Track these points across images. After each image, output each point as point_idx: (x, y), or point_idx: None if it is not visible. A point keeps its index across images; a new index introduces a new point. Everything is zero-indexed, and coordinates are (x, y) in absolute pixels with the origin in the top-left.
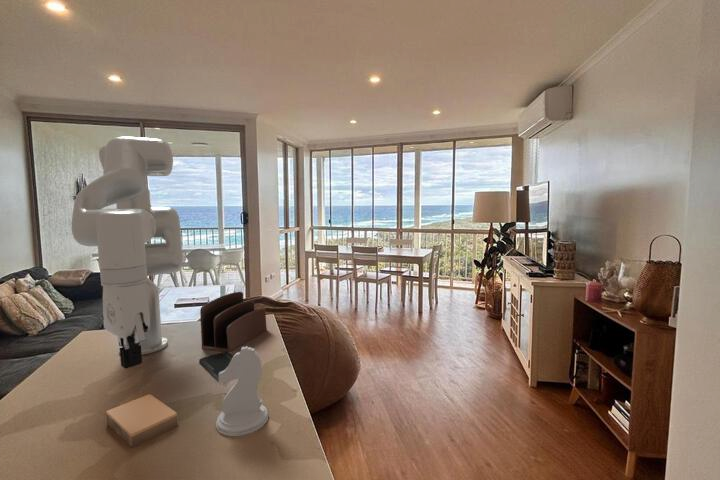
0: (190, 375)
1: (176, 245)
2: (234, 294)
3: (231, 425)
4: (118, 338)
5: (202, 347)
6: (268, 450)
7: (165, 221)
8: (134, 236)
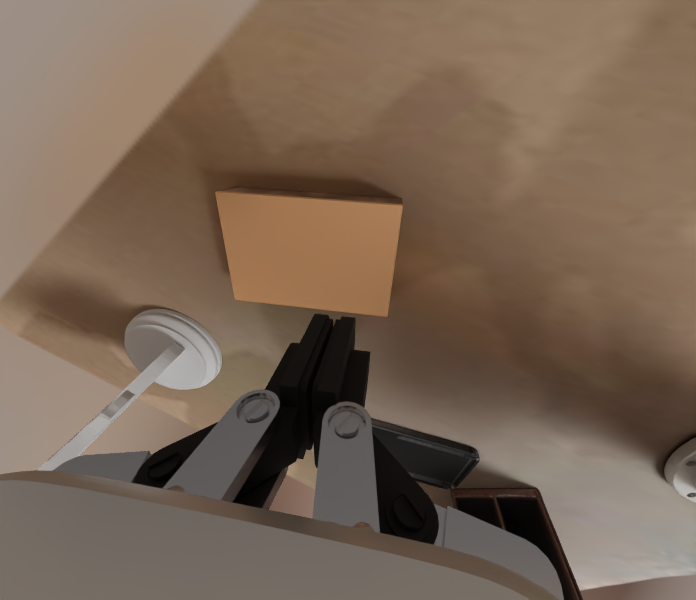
0: (435, 409)
1: None
2: None
3: (136, 326)
4: (357, 465)
5: (536, 491)
6: (70, 315)
7: None
8: None
